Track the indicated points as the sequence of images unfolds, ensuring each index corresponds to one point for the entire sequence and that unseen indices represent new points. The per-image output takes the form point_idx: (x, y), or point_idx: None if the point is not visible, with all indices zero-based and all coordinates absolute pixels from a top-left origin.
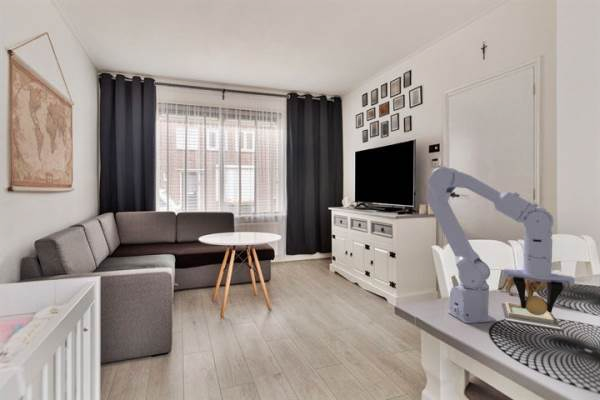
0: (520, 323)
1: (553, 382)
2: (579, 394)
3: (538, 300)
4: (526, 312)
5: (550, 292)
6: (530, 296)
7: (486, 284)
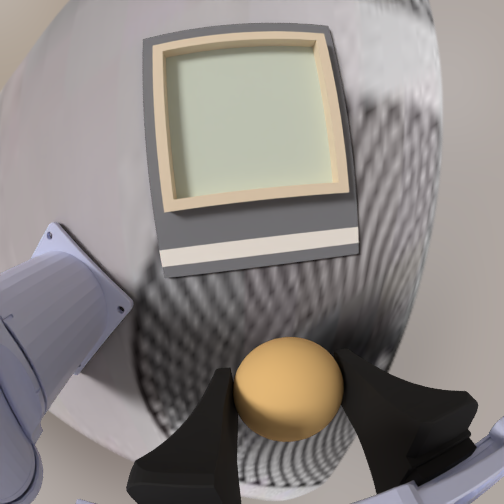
0: (218, 271)
1: (277, 492)
2: (303, 494)
3: (302, 439)
4: (242, 99)
5: (372, 466)
6: (267, 428)
7: (12, 368)
